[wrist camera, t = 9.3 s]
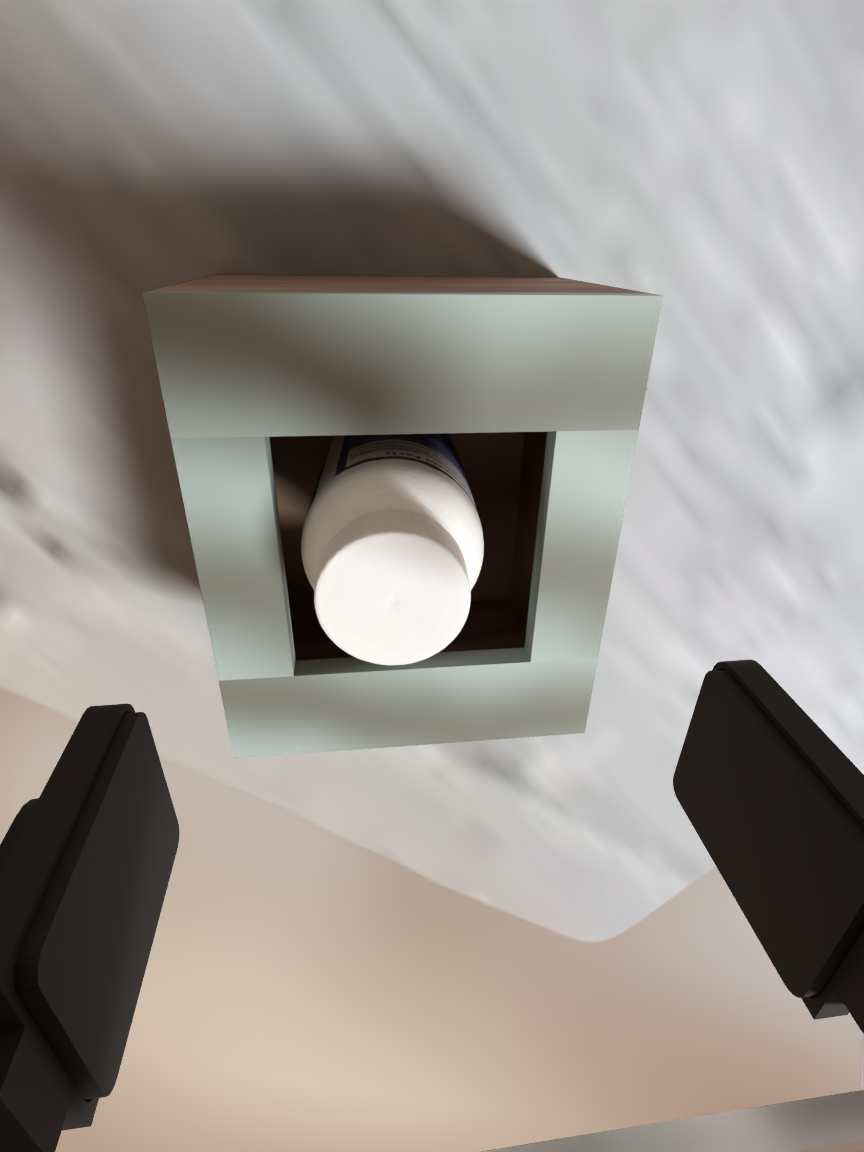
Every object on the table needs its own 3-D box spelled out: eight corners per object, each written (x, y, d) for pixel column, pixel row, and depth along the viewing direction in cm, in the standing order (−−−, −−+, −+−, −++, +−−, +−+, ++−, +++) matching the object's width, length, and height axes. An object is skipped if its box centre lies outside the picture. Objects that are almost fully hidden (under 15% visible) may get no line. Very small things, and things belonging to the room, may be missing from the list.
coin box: (216, 274, 21) (141, 292, 13) (559, 277, 22) (662, 295, 15) (265, 620, 27) (234, 758, 20) (525, 607, 29) (584, 732, 21)
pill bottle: (402, 559, 26) (407, 719, 17) (296, 482, 24) (242, 617, 15) (490, 465, 24) (544, 590, 15) (383, 373, 22) (377, 457, 13)
